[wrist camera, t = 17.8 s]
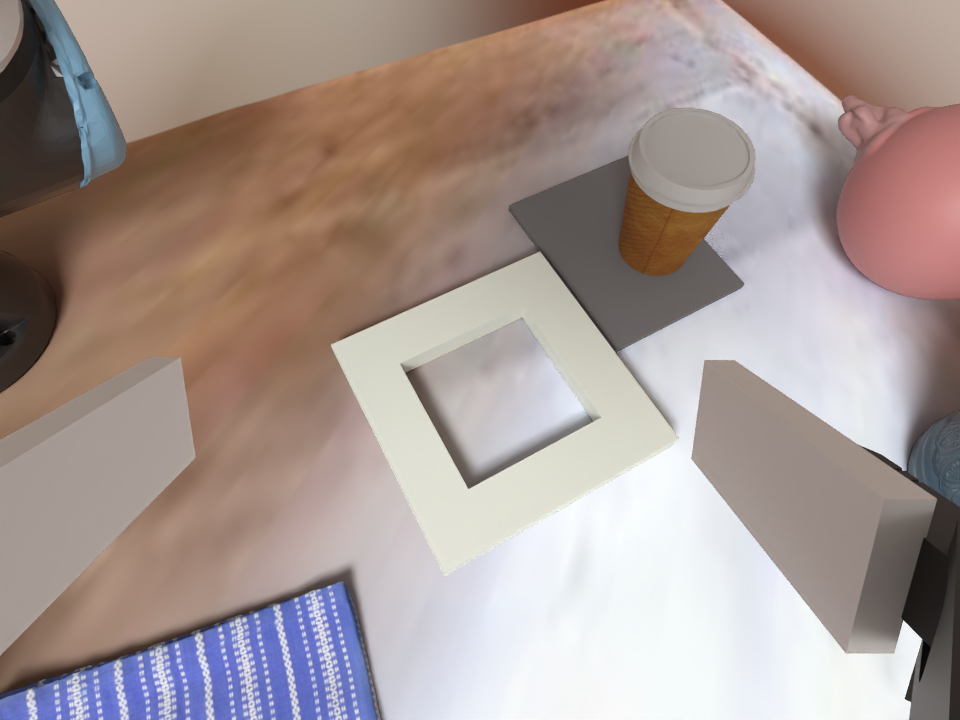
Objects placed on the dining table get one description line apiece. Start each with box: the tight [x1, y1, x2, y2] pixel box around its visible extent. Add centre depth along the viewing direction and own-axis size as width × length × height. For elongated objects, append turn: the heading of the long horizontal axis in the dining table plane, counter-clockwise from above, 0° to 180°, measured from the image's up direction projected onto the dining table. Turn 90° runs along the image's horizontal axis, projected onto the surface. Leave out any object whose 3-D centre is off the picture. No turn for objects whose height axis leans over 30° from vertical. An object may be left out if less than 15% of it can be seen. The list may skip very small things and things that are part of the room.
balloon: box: [837, 95, 960, 300], centre depth 48 cm, size 15×20×15 cm
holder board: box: [331, 252, 678, 577], centre depth 46 cm, size 20×20×2 cm
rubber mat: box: [509, 156, 744, 353], centre depth 54 cm, size 18×14×1 cm
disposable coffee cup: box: [618, 108, 755, 276], centre depth 48 cm, size 10×10×12 cm
